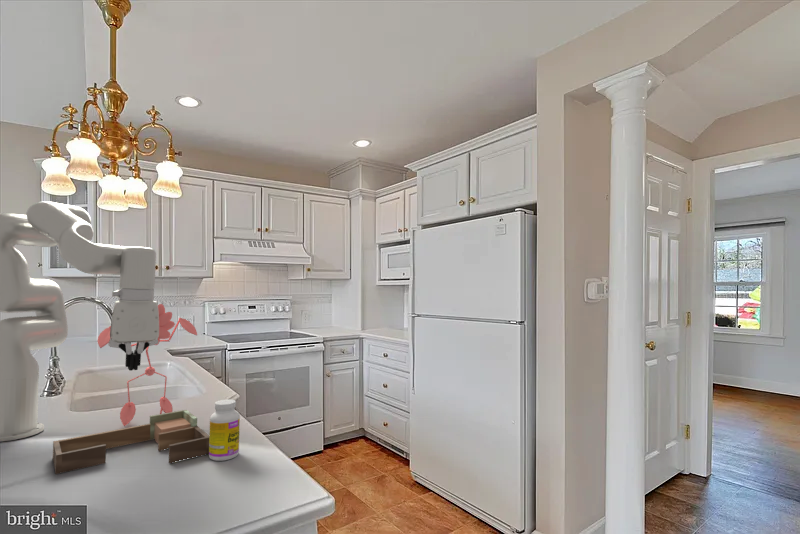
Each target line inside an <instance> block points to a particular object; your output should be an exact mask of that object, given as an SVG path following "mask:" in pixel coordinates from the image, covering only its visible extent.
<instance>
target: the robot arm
mask: <svg viewBox="0 0 800 534" xmlns="http://www.w3.org/2000/svg"><path fill="white" fill-rule="evenodd" d="M93 238H94V229H93V227H92V219H91V216H90V214H89V213H88V211H87V210H85V209H84V208H82V207H80V206H77V205H76V206H75V205H73V204H72V205H71V204H64V203H59V202H54V201H39V202H36V203H33V204H32V205H30V206H29V207H28V208H27V211H26V213H25V214H18V213H9V212H0V313H2V314H3V313H4V314H5V313H6V314H18V313H19V314H20V313H22V314H23V313H35V315H34V316H33V315H31V316H30V315H29V316H28V315H27V316H17V317H16V316H15V317H9V318H4V319H1V320H0V442H9V441H15V440H20V439H26V438H29V437H31V436H34V435H38V434H40V433H41V432H43V431H44V430H45V424H44V423H41V422H38V411H39V409H38V408H39V407H38V406H39V385H40V384H39V379H40V374H39V373H40V366H39V364H38V361H37V359H36V358H35V357H34V356H33V354H32V352H33V351H36V350H37V351H38V350H43V349H50V348H56V347H58V346H61V345H62V344H63V343H64V342H65V341H66V339H67V337H68V332H69V327H68V320H67V319H68V318H67V311H66V307H65V305H66V304H65V299H64V294H63V290H62V288H61V287H60V286H59V284H58V283H56V282H55V281H54V280H51V279H46V278H32V277H31V275H30V269H29V263H28V260H26V259H27V258H25V256H24V255H23V253H21V252H20V251H19V250H18V249H17V248H16V247H15V246H27V247H38V248H39V247H41V248H50V247H51V248H52V247H56V246H57V247H58V248H57V249H58V251H59V255H60V257H61V258H62V260H63V261H64V262H66V263H67V264H68V265H70V266H71V267H73V268H74V269H76V270H78V271H80V272H82V273H84V274H88V275H111V276H119V288H118V289H117V290H115V291H114V290H112V292H111V297H112V298H117V299H118V300H116V301H115V302H114V307H113V309H112V315H111V322H110V326H111V328H110V341H109V343H108V344H107V345H108V347H110V348H116V349H120V350H121V351H123V352H124V353H125V363H124V365H125V368H127V369H128V370H129V371H138V367H140V366H141V359H142V358H141V357H142V354H143V352H144V351H146V348H147V347H148V346H149V347H152V346H156V345H155V344H158V337H159V311H158V305H159V304H158V301H155V300H154V297H155V280H156V278H155V277H156V264H157V262H156V261H157V252H156V250H155V249H154V248H151V247H146V246H145V247H144V246H124V245H121V246H120V245H115V244H106V243H105V244H103V243H94V242H91V241H92V240H93ZM132 343H135V344H136V343H137V344H136V345H135V349H134V351H133V350H132V348H133V346H132V347H131V345H132ZM158 345H159V344H158ZM31 351H32V352H31Z"/></svg>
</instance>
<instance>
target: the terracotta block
mask: <svg viewBox="0 0 800 534" xmlns="http://www.w3.org/2000/svg"><path fill="white" fill-rule="evenodd" d="M189 427H191V424H190V423H189V422H188V421H187V420H186V419H184V418H178V419H173V420H167V421H162V422H156V423H155V430H154V439H155V440H154V439H153V440H154V441H155V442H156V444H158V439H159V433H164V432H169V431H174V430H179V429H184V428H189Z"/></svg>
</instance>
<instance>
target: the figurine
mask: <svg viewBox="0 0 800 534" xmlns="http://www.w3.org/2000/svg"><path fill="white" fill-rule="evenodd" d="M158 311H159V337H158V344H155V345H154V346H158V345H159V343H162V342H170V341H171V340H172V338H173V335H174V334H175V332H176V330H177V329H178V326H179V324H180V326H181V327H182V328H183V329H184V330H185V331H186V332H188V333H189V334H192V335H195V336H198V331H197V328H196V327H195V325H194V324H193V323H192V322H190V321H189V320H188V319H186V318H182V317H178V321H177V322H176V323H175V322H174V321H173V320H171V319H172V318H173V312H172V311H168V312H166V308H165V306H164V304H163V303H159V304H158ZM110 328H111V325H110V326H108V327H106V328H104V329H103V330H102V331H101V332H100V333H99V334H98V336H97V341H96V342H97V345H98V347H99V348H100V349H102V348H104V347H105V346H106V345H108V344H109V341H110ZM172 329H173V330H172ZM169 330H172V332H170V331H169ZM136 344H137V342H135V343H131V347H132V348H133V347H134V346H135V347H136ZM149 347H150V346H148V347H147V348H146V349H145V355H146V357H147V362H148V365H149V366H147V367H146V368H145V370H144V373H142V374H140V375H138V376H135V377H134V378H131V379H129V380H127V382H126V384H127V401H128V402H126V403H125V404H124V405H123V406H122V408H121V409H120V413H119V417H120V418H119V419H120V421H121V423H122V425H123V426H124V427H126V426H127V425H128V424H129V423H131V421H132V420H133V418H134V417H135V415H136V410H137V408H136V404H135V403H134V402H133V401H131V396H130V386H129V385H130V384H129V382H131V381H134V380H137V379H138V378H139V377H142V376H144V375H146V376H147V377H148V376H149V377H151V376H153V375H155V374H157V375H159V376H162V377H165V379H164V380H165V381H164V392H163V393H164V394H163V396H162V397H160V398H159V407H160V410H159V414H163V413H170V412H173V404H172V403H171V401H170V400H169V399H168V398H167V397H166V390H167V379H168V377H167V375H164V374H162V373H160V372H157V371H156V369H155V367H154V366H152V364H151V361H150V360H151V359H150V355H149Z"/></svg>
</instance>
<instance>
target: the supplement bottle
mask: <svg viewBox="0 0 800 534" xmlns="http://www.w3.org/2000/svg"><path fill="white" fill-rule="evenodd" d="M236 404H237V402H236V400H235V399H221V400H220V399H219V400H217V401H215V402H214V412H213V413H212V414H211V415H210V417H209V454H208V457H209V459H210V460H212V461H216V462H221V461H224V462H225V461H228V460H232V459H235V458H236V457H238V454H239V453H240V451H239V450H240V422H241V421H240V420H241V415H240V413H239V411H237V410H235V408H236V406H237V405H236Z"/></svg>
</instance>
